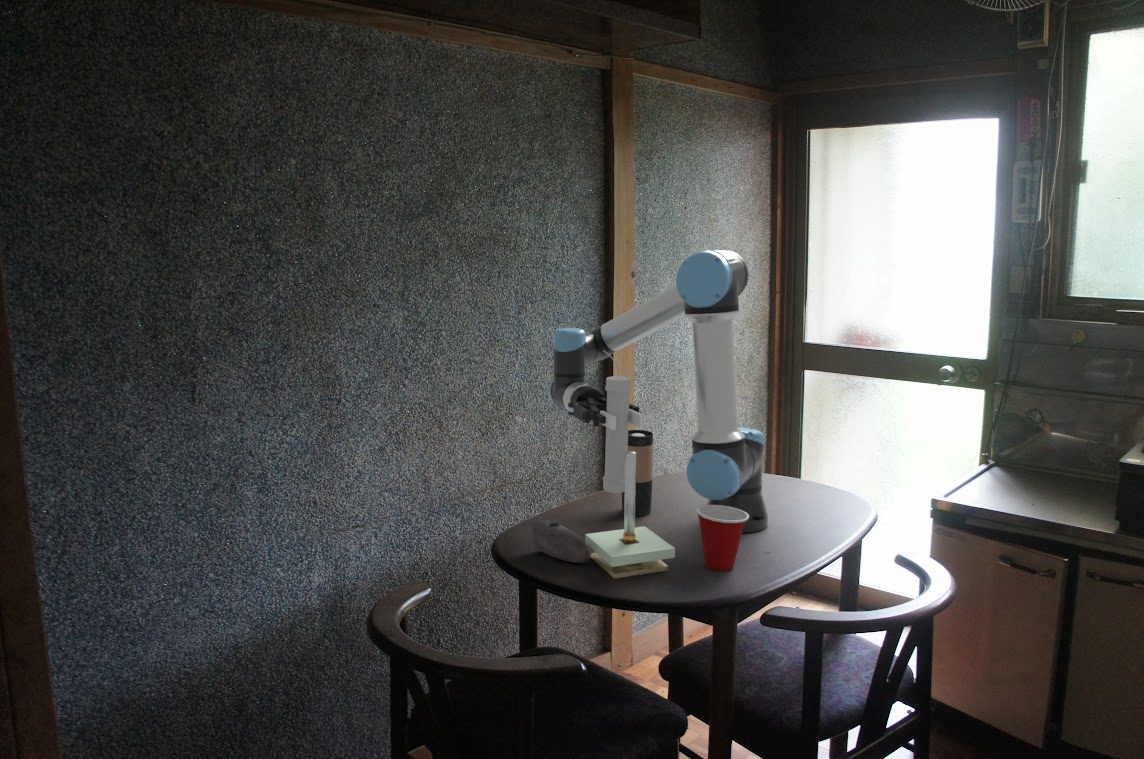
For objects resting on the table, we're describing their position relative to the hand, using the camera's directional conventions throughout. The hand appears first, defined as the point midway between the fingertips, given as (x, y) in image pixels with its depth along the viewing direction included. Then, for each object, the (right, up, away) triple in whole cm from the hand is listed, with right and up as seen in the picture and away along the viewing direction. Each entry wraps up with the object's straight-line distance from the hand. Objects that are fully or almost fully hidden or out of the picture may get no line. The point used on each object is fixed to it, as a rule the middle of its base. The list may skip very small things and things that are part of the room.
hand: (627, 422), depth 175 cm
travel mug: (+5, -24, +37) cm, 44 cm away
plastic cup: (+19, -30, +3) cm, 36 cm away
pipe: (-3, -15, +8) cm, 17 cm away
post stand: (0, -30, +4) cm, 30 cm away
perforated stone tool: (-14, -29, +7) cm, 33 cm away
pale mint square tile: (0, -27, +3) cm, 27 cm away
